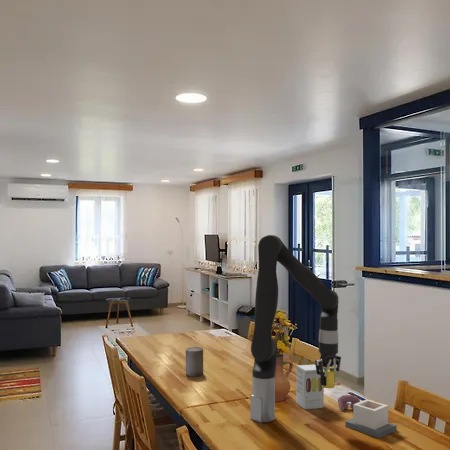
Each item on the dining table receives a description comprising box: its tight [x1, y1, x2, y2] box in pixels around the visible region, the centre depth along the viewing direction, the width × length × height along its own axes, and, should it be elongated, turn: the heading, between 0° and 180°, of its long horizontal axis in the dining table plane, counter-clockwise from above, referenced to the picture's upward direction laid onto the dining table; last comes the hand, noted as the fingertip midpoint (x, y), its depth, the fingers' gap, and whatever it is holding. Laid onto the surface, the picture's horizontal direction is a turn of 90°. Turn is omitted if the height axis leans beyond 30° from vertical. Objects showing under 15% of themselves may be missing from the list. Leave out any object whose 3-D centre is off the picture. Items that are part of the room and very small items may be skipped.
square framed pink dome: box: [344, 399, 398, 439], centre depth 187 cm, size 12×15×9 cm
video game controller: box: [337, 394, 361, 412], centre depth 208 cm, size 10×5×7 cm, turn 93°
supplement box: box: [295, 363, 325, 410], centre depth 213 cm, size 10×9×17 cm
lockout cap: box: [321, 370, 336, 389], centre depth 190 cm, size 5×5×6 cm
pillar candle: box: [185, 346, 204, 377], centre depth 261 cm, size 10×10×15 cm
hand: (327, 383), depth 189 cm, fingers closed on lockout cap, 5 cm apart
